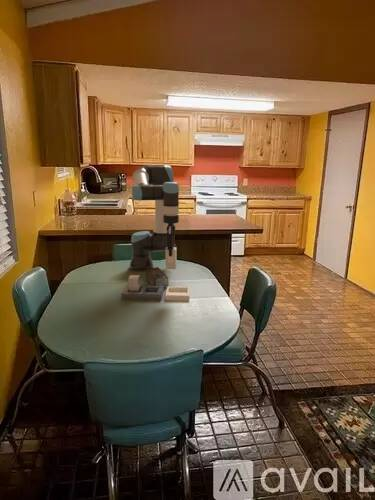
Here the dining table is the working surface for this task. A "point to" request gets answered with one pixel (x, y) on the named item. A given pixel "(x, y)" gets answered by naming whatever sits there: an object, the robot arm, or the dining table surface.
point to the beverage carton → (157, 277)
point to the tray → (177, 293)
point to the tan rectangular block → (173, 264)
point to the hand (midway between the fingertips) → (171, 260)
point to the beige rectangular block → (134, 283)
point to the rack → (144, 293)
